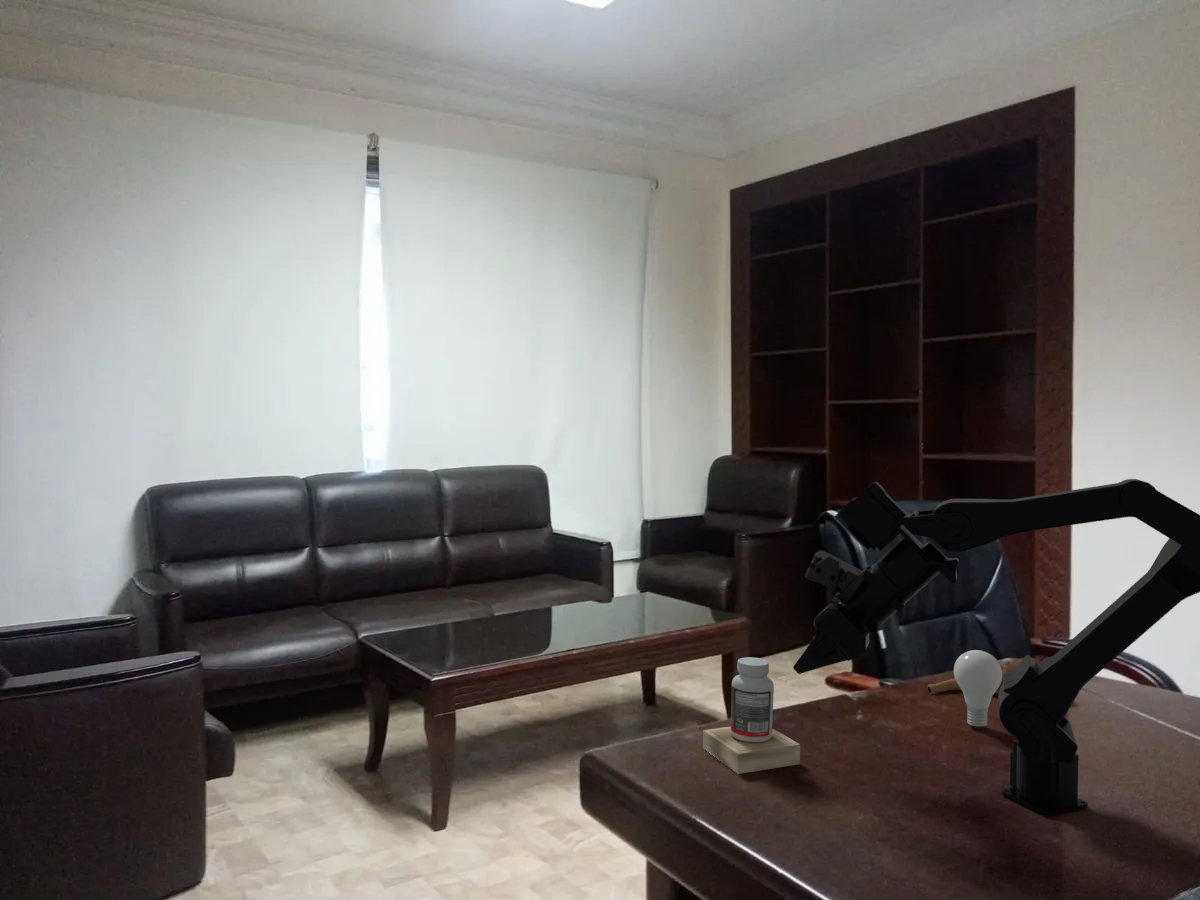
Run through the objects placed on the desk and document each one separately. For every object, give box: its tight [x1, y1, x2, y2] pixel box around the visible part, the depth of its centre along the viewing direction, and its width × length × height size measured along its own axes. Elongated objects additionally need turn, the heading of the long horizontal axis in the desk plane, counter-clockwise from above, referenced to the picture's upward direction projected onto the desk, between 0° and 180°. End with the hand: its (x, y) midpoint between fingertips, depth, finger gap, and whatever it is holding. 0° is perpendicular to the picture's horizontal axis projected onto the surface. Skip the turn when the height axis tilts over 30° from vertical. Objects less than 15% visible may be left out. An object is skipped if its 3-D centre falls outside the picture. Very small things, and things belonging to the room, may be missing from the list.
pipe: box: [926, 657, 1042, 695], centre depth 140 cm, size 8×19×6 cm, turn 94°
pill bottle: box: [730, 656, 775, 742], centre depth 113 cm, size 5×5×10 cm
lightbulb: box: [953, 649, 1003, 729], centre depth 124 cm, size 6×6×11 cm
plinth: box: [702, 726, 801, 775], centre depth 113 cm, size 9×9×3 cm
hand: (802, 661), depth 110 cm, fingers open, 9 cm apart
